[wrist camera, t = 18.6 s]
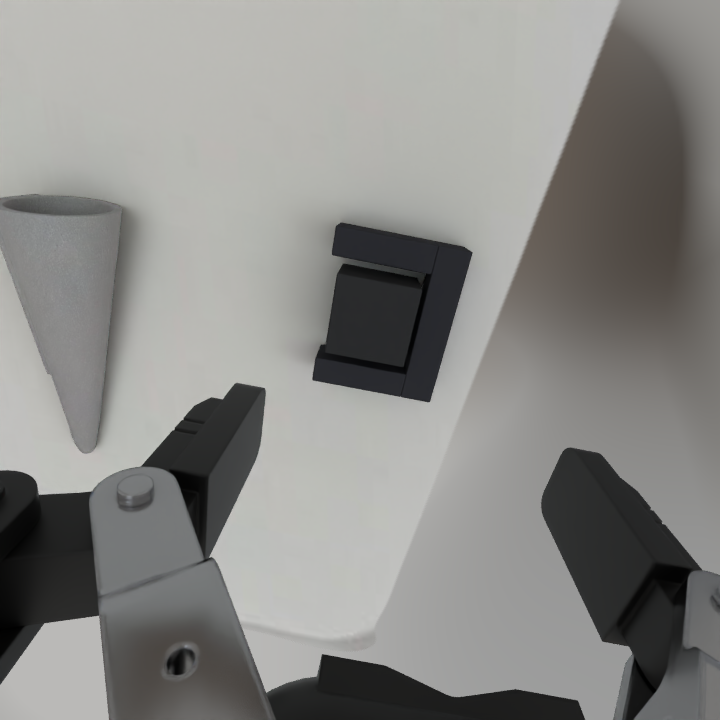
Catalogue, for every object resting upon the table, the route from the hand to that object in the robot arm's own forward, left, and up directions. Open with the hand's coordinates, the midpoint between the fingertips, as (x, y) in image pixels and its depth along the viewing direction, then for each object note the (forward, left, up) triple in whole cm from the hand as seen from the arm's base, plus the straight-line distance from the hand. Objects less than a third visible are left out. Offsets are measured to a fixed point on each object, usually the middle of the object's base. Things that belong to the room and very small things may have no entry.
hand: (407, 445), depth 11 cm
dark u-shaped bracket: (+1, +1, -18) cm, 18 cm away
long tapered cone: (+17, -12, -18) cm, 27 cm away
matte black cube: (+2, 0, -18) cm, 18 cm away
